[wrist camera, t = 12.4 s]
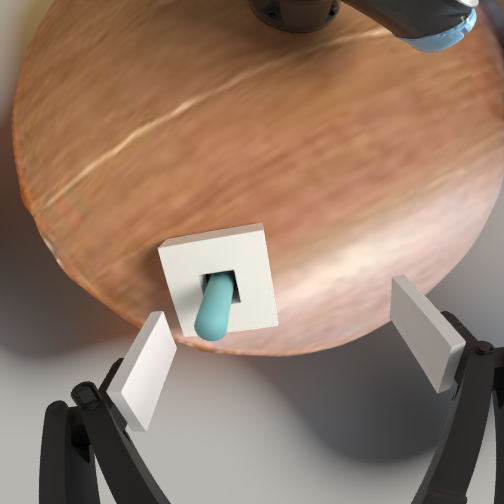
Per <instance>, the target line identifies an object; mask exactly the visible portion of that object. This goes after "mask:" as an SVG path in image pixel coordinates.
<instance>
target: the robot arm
mask: <svg viewBox="0 0 504 504" xmlns="http://www.w3.org/2000/svg"><path fill="white" fill-rule="evenodd" d="M341 1H342V2H344V3H346V4H348V5H349V6H351V7H353V8H355V9H356V10H358V11H360V12H361V13H363V14H365V15H366V16H368V17H370V18H371V19H373V20H374V21H376V22H377V23H379V24H380V25H382V26H383V27H385V28H386V29H388V30H389V31H391V32H392V34H393V35H394V36H395V37H397V38H399V39H401V40H403V41H405V42H406V43H408V44H409V45H411V46H412V47H413V48H415V49H416V50H419V51H421V52H425V53H434V52H439V51H442V50H444V49H447V48H449V47H451V46H453V45H454V44H456V43H457V42H459V41H460V40H461V39H462V38H463V37H464V34H465V33H468V32H469V31H470V30H471V29H472V28H473V26H474V24H475V22H476V12H475V10H474V7H476V6H477V5H478V0H249V3H250V6H251V8H252V10H253V12H254V13H255V14H256V15H257V16H258V17H259V18H260V19H261V20H262V21H263V22H265V23H266V24H268V25H270V26H272V27H274V28H276V29H279V30H283V31H287V32H293V33H308V32H314V31H317V30H320V29H322V28H324V27H326V26H327V25H329V24H330V23H331V22H332V21H333V20H334V18H335V17H336V15H337V13H338V11H339V9H340V4H341ZM390 319H391V320H392V322H393V323H394V325H395V326H396V328H397V329H398V331H399V332H400V334H401V335H402V337H403V338H404V340H405V341H406V343H407V345H408V346H409V348H410V349H411V351H412V352H413V354H414V356H415V357H416V359H417V360H418V362H419V363H420V365H421V367H422V368H423V370H424V372H425V373H426V375H427V377H428V378H429V380H430V382H431V383H432V385H433V387H434V388H435V390H436V392H437V393H440V392H442V391H445V390H447V389H450V388H451V386H452V384H453V381H454V379H455V381H456V382H457V384H458V385H457V388H456V391H455V393H454V396H453V398H452V400H453V402H452V405H451V409H450V412H449V415H448V418H447V421H446V424H445V427H444V430H443V433H442V436H441V438H440V441H439V444H438V446H437V449H436V451H435V454H434V456H433V459H432V461H431V463H430V466H429V468H428V470H427V472H426V475H425V477H424V479H423V481H422V483H421V485H420V487H419V489H418V491H417V493H416V495H415V497H414V499H413V501H412V502H411V504H466V503H467V497H466V492H467V489H468V486H469V483H470V480H471V478H472V475H473V472H474V468H475V465H476V461H477V458H478V455H479V451H480V447H481V444H482V440H483V435H484V431H485V426H486V422H487V417H488V412H489V406H490V400H491V393H492V396H493V405H494V415H495V429H496V483H495V497H494V504H504V347H500V348H494V346H493V345H492V344H490V343H489V342H486V341H477V339H476V338H475V337H474V336H473V335H472V334H471V333H470V332H469V331H468V330H467V328H466V327H464V326H463V324H462V323H461V322H459V320H458V319H457V318H456V317H455V316H454V315H453V314H451V313H449V312H447V311H443V312H439V311H438V310H437V309H436V308H435V307H434V305H432V303H431V302H430V301H429V300H428V299H427V298H426V297H425V296H424V295H423V294H422V293H421V292H420V291H419V290H418V289H417V288H416V287H415V286H414V285H413V284H412V283H411V282H410V281H409V280H408V279H407V278H406V277H405V276H404V275H400V276H395V277H392V292H391V309H390ZM176 349H177V348H176V345H175V343H174V340H173V337H172V335H171V332H170V329H169V326H168V324H167V321H166V318H165V315H164V312H163V311H157V312H151V313H150V315H149V317H148V318H147V320H146V322H145V324H144V325H143V327H142V329H141V331H140V332H139V334H138V336H137V337H136V339H135V341H134V343H133V344H132V346H131V348H130V349H129V351H128V353H127V355H126V357H125V358H119V360H117V361H116V362H115V363H114V364H113V365H112V367H111V369H110V370H109V372H108V374H107V375H106V378H105V379H104V381H103V383H102V384H101V386H100V388H99V390H98V389H97V388H96V386H95V384H94V383H92V382H90V381H88V382H82V383H80V384H78V385H76V386H75V387H74V388H73V390H72V392H71V397H72V399H73V400H74V402H75V403H76V404H77V406H75V407H68V406H67V404H66V403H65V402H64V401H61V400H60V401H55V402H53V403H51V404H50V405H49V406H48V407H47V409H46V412H45V418H44V426H43V435H42V445H41V456H40V474H39V504H100V498H99V492H98V485H97V476H96V467H95V456H96V458H97V461H98V463H99V466H100V468H101V470H102V473H103V475H104V478H105V480H106V482H107V484H108V486H109V489H110V491H111V493H112V495H113V497H114V499H115V501H116V503H117V504H171V503H170V502H169V500H168V499H167V497H166V496H165V495H164V493H163V492H162V490H161V489H160V487H159V486H158V484H157V483H156V481H155V480H154V478H153V476H152V475H151V473H150V472H149V470H148V468H147V467H146V465H145V463H144V462H143V460H142V458H141V457H140V455H139V453H138V452H137V449H136V448H135V446H134V444H133V442H132V440H131V439H130V437H129V435H128V433H127V432H126V430H125V427H126V425H127V424H128V425H129V427H130V428H131V429H132V431H139V432H147V430H148V427H149V424H150V421H151V418H152V415H153V412H154V409H155V407H156V404H157V401H158V398H159V395H160V393H161V390H162V387H163V384H164V381H165V379H166V376H167V373H168V370H169V368H170V365H171V362H172V359H173V357H174V354H175V352H176ZM94 453H95V456H94Z"/></svg>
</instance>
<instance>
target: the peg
mask: <svg viewBox="0 0 504 504" xmlns="http://www.w3.org/2000/svg"><path fill="white" fill-rule="evenodd" d="M234 281H235V273H234V271H233V270H228V271H222V272H215V273H212V274H211V277H210V279H209V282H208V285H207V288H206V291H205V294H204V297H203V299H202V302H201V305H200V308H199V311H198V314H197V317H196V320H195V323H194V329H195V332H196V333H197V335H198V336H199V337H201V338H202V339H204V340H207V341H217V340H220V339H222V338H223V337H224V336H225V334H226V332H227V326H228V320H229V313H230V307H231V300H232V294H233V287H234Z"/></svg>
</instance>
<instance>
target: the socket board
mask: <svg viewBox="0 0 504 504" xmlns="http://www.w3.org/2000/svg"><path fill="white" fill-rule="evenodd" d="M158 252H159V255H160V259H161V263H162V266H163V270H164V273H165V277H166V280H167V284H168V287H169V290H170V294H171V297H172V300H173V304H174V307H175V310H176V313H177V316H178V319H179V322H180V325H181V328H182V331H183V334H184V337H192V336H198V335H197V333H196V332H195V329H194V323H195V320H196V317H197V314H198V311H199V308H200V305H201V302H202V299H203V297H204V294H205V291H206V288H207V285H208V281H207V277H206V274H209V273H215V272H222V271H228V270H234V271H235V276H236V281H237V285H238V290H233V294H232V300H231V307H230V313H229V320H228V326H227V332H226V333H228V332H236V331H244V330H251V329H258V328H265V327H272V326H278V325H279V324H278V317H277V309H276V303H275V297H274V290H273V284H272V278H271V272H270V266H269V259H268V253H267V247H266V241H265V235H264V229H263V223H256V224H250V225H244V226H238V227H232V228H227V229H221V230H215V231H209V232H204V233H198V234H193V235H187V236H182V237H176V238H171V239H166V240H165V241H164V242H163V243H162V244H161V245H160V246H159V247H158Z"/></svg>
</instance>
